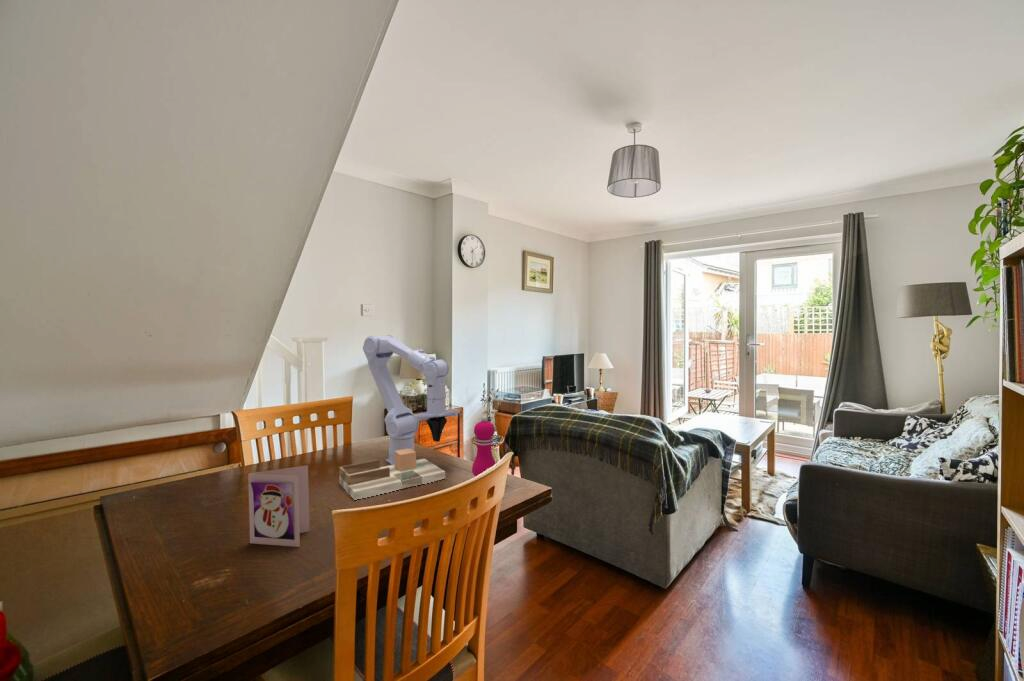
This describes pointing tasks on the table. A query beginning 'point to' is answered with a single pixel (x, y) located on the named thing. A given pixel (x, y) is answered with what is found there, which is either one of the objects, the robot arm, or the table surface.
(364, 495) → the plate
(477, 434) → the pepper mill
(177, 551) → the table surface
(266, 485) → the greeting card
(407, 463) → the cube
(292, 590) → the table surface
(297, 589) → the table surface
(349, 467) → the wooden frame
